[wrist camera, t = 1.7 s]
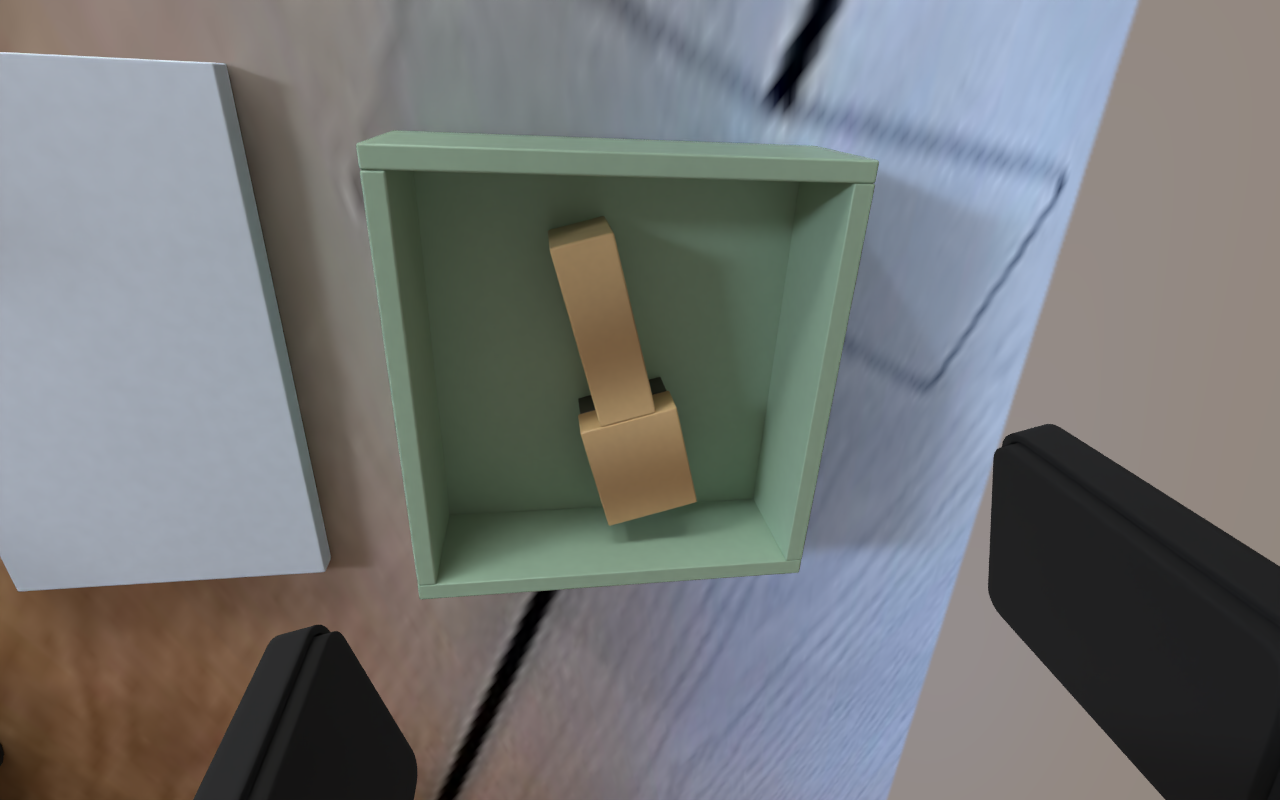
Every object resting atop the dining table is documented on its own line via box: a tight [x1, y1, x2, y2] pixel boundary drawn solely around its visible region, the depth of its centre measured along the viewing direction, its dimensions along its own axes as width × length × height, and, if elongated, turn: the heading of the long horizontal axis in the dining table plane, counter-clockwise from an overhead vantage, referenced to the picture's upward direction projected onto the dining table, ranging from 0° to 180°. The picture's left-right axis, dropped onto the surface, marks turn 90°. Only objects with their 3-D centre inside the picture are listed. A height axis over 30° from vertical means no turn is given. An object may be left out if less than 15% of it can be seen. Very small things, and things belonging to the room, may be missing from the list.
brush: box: [548, 216, 697, 526], centre depth 25 cm, size 12×4×3 cm, turn 13°
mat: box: [0, 52, 331, 591], centre depth 23 cm, size 20×12×1 cm, turn 178°
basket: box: [356, 131, 879, 599], centre depth 24 cm, size 16×15×5 cm
